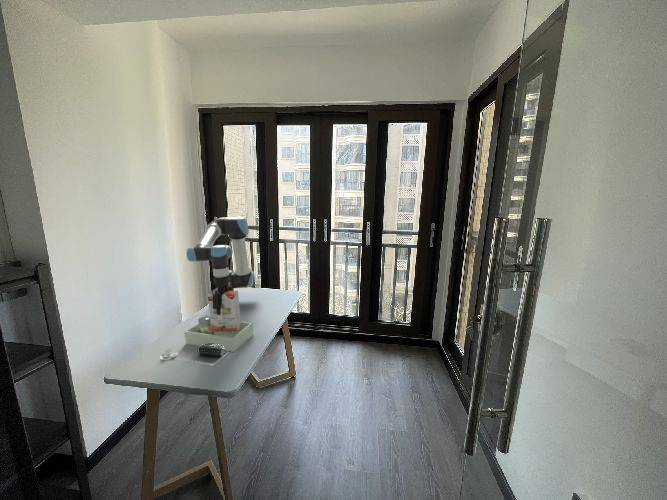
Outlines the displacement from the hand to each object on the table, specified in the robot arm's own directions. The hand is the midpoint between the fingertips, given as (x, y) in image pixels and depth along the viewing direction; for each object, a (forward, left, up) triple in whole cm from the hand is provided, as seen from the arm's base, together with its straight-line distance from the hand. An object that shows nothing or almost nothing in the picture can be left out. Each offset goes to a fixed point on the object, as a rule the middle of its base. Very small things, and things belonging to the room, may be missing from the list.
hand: (225, 316), depth 146 cm
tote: (0, -5, -14) cm, 15 cm away
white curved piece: (+22, -18, -15) cm, 32 cm away
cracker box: (0, 0, -7) cm, 7 cm away
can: (0, -13, -13) cm, 19 cm away
